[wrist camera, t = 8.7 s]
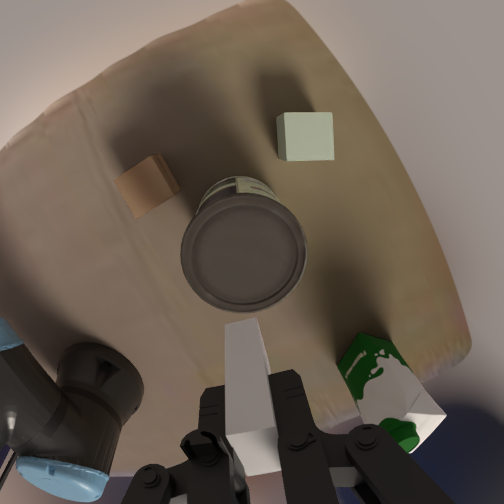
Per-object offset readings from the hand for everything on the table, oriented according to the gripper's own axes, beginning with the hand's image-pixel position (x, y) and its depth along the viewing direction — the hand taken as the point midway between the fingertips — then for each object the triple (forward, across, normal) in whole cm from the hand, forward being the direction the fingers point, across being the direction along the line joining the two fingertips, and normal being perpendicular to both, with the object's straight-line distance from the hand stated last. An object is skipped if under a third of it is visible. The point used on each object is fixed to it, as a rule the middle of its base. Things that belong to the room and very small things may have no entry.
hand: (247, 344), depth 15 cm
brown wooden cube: (+26, +8, -7) cm, 28 cm away
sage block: (+26, -10, -8) cm, 28 cm away
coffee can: (+26, -1, 0) cm, 26 cm away
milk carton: (+26, -15, +26) cm, 39 cm away
